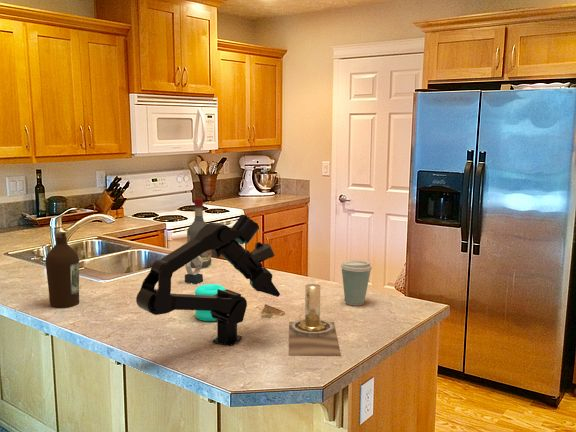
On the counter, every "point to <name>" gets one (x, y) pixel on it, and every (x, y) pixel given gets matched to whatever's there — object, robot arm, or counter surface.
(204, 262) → the liquor
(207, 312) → the turquoise yo-yo shaped spool
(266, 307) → the shard
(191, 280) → the watch
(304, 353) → the carrier plate
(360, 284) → the disposable coffee cup
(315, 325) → the gold piece
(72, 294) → the olive oil
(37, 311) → the counter surface
